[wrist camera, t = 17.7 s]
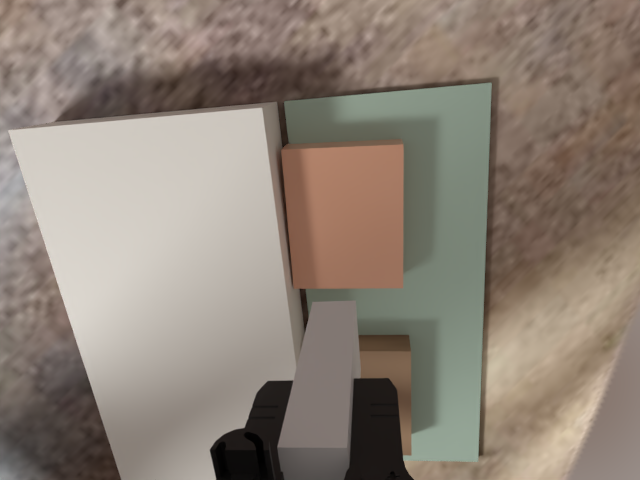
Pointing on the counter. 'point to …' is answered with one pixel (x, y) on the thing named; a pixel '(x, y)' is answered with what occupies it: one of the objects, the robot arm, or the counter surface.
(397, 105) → the mat
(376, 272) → the terracotta tile
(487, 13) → the counter surface
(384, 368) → the walnut tile
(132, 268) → the white flat block
